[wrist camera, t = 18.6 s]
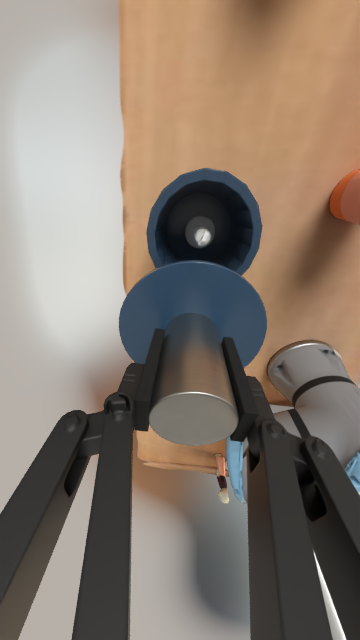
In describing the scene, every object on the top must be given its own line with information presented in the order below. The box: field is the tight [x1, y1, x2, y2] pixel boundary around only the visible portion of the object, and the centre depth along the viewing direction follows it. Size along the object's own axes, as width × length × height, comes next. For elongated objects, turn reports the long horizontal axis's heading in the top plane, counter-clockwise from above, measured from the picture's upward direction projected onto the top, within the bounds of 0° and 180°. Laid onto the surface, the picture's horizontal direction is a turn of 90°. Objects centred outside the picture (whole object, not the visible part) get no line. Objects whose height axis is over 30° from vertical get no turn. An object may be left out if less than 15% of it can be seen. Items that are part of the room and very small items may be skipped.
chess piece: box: [185, 215, 215, 248], centre depth 26 cm, size 5×5×10 cm
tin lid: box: [119, 260, 267, 446], centre depth 14 cm, size 13×13×9 cm
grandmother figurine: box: [215, 454, 229, 503], centre depth 62 cm, size 8×4×13 cm, turn 37°
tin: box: [147, 168, 262, 276], centre depth 25 cm, size 12×12×12 cm
